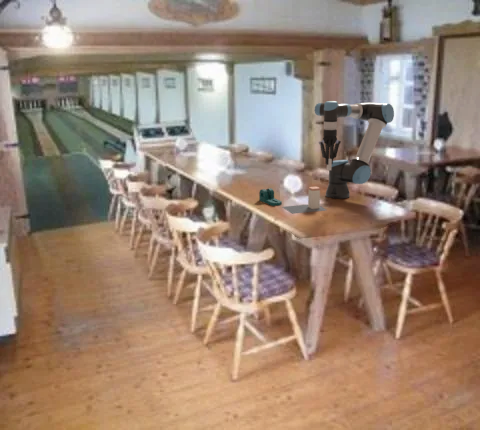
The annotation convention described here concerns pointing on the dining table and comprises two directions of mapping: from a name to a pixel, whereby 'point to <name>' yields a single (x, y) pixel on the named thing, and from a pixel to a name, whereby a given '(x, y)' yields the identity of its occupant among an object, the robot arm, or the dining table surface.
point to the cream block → (314, 197)
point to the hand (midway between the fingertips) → (328, 169)
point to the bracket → (268, 197)
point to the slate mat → (302, 209)
